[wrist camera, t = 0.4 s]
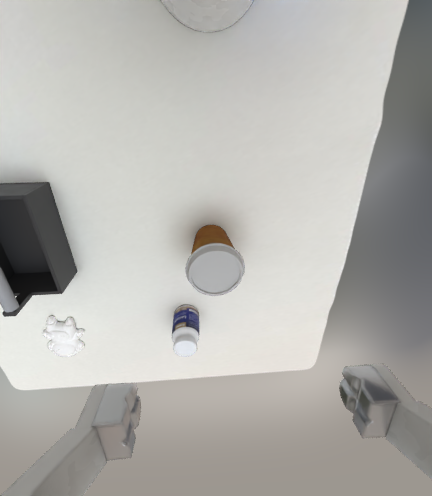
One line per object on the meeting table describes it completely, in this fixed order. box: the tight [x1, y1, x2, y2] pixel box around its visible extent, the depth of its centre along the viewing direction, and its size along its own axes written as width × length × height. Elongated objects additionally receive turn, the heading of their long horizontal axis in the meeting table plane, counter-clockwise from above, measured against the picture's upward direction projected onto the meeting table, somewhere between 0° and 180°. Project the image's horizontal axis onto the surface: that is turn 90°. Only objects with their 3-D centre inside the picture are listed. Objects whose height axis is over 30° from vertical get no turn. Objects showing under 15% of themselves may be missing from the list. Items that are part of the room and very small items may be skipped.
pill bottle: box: [172, 305, 199, 357], centre depth 56 cm, size 6×6×10 cm
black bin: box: [0, 182, 77, 317], centre depth 42 cm, size 18×12×12 cm, turn 0°
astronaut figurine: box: [42, 316, 85, 357], centre depth 59 cm, size 9×12×3 cm
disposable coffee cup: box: [186, 225, 245, 296], centre depth 46 cm, size 10×10×12 cm
